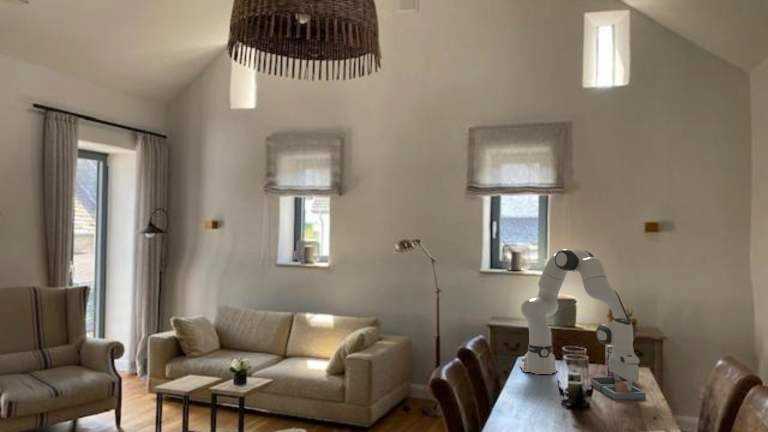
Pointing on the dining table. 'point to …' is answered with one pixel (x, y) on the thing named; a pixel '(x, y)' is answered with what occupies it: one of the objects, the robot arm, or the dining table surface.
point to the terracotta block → (621, 387)
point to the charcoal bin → (602, 382)
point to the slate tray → (624, 394)
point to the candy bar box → (607, 355)
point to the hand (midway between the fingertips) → (623, 386)
